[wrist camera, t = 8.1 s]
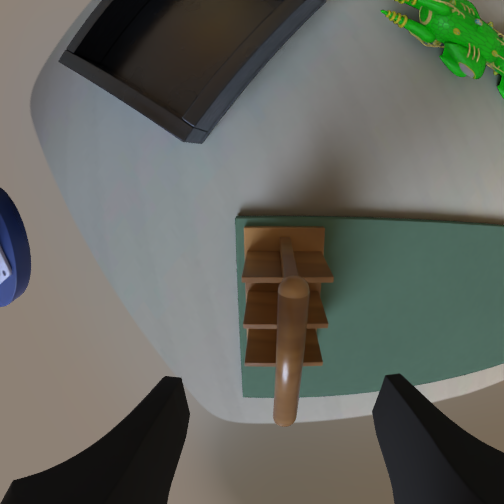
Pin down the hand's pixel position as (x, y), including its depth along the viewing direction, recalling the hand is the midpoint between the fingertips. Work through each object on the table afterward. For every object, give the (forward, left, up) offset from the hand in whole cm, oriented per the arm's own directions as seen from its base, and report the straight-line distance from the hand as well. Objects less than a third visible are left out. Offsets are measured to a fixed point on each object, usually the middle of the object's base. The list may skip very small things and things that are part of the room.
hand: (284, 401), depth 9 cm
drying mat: (+12, -8, -10) cm, 18 cm away
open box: (+3, +17, -10) cm, 19 cm away
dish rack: (0, 0, -9) cm, 9 cm away
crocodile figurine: (+21, +9, -10) cm, 25 cm away
